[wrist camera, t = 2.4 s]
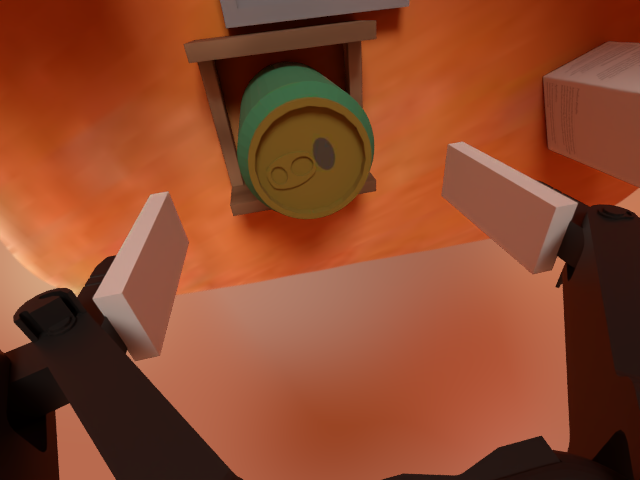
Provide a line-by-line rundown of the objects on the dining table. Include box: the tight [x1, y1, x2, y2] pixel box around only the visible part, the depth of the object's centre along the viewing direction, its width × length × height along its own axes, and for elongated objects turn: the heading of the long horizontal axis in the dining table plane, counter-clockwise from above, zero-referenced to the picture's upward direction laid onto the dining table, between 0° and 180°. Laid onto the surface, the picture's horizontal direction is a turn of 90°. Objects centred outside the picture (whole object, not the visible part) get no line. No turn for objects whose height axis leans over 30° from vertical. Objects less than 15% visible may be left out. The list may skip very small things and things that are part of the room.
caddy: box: [184, 20, 376, 216], centre depth 26 cm, size 12×12×5 cm
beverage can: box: [237, 62, 374, 219], centre depth 23 cm, size 8×8×12 cm
